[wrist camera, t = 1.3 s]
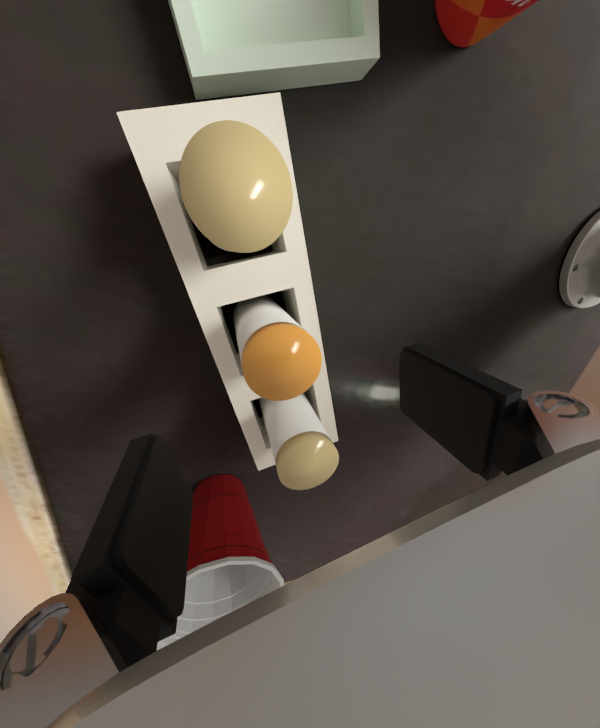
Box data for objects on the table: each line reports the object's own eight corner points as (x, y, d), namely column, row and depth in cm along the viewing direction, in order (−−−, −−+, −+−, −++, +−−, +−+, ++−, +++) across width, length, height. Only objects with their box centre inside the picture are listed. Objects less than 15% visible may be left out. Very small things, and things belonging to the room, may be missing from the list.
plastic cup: (272, 454, 30) (299, 562, 20) (256, 517, 34) (272, 636, 24) (172, 455, 27) (141, 589, 16) (166, 525, 30) (138, 672, 20)
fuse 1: (249, 182, 19) (279, 112, 9) (264, 245, 21) (301, 241, 11) (190, 192, 18) (158, 129, 9) (211, 256, 20) (204, 263, 11)
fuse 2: (292, 365, 26) (334, 431, 17) (300, 399, 28) (342, 475, 19) (251, 378, 26) (271, 455, 16) (263, 411, 28) (286, 498, 18)
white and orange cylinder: (274, 288, 23) (314, 316, 13) (285, 333, 25) (326, 386, 15) (226, 300, 22) (231, 340, 12) (241, 346, 24) (255, 410, 14)
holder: (265, 130, 18) (280, 92, 14) (321, 412, 30) (338, 440, 26) (143, 148, 17) (116, 112, 12) (252, 437, 28) (258, 470, 24)
